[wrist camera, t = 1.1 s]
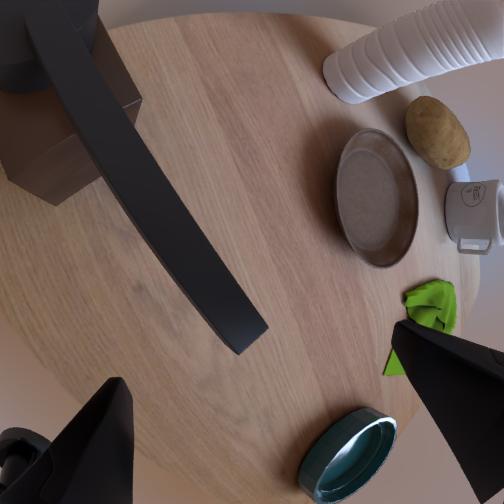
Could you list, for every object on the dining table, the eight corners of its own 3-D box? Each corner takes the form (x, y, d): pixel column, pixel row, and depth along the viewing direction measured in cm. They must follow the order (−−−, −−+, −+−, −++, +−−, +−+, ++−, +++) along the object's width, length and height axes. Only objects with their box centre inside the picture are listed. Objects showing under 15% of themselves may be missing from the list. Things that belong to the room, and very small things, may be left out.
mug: (449, 170, 41) (498, 165, 32) (467, 208, 45) (510, 208, 37) (434, 232, 38) (492, 234, 29) (453, 268, 43) (502, 273, 34)
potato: (438, 183, 39) (481, 179, 32) (390, 156, 32) (444, 146, 25) (434, 128, 38) (474, 120, 31) (385, 91, 32) (433, 74, 25)
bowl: (317, 500, 31) (333, 513, 28) (276, 469, 27) (296, 488, 23) (384, 434, 37) (402, 444, 33) (365, 385, 32) (388, 396, 29)
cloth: (457, 319, 46) (467, 321, 43) (400, 413, 38) (411, 418, 36) (439, 234, 39) (452, 234, 37) (367, 344, 32) (383, 349, 30)
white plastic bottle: (339, 51, 28) (516, -21, 6) (368, 94, 30) (550, 44, 8) (299, 71, 25) (524, -29, 3) (335, 122, 28) (568, 62, 5)
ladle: (-19, 45, 5) (-39, -5, 2) (75, -9, 7) (81, -65, 4) (160, 350, 10) (187, 400, 7) (254, 270, 12) (314, 284, 9)
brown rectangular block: (55, 206, 17) (8, 181, 7) (24, 139, 15) (-25, 70, 6) (125, 161, 19) (143, 98, 10) (92, 97, 17) (94, 6, 8)
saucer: (413, 195, 35) (430, 193, 32) (374, 291, 32) (393, 294, 29) (352, 108, 29) (369, 102, 26) (291, 207, 25) (311, 205, 23)
